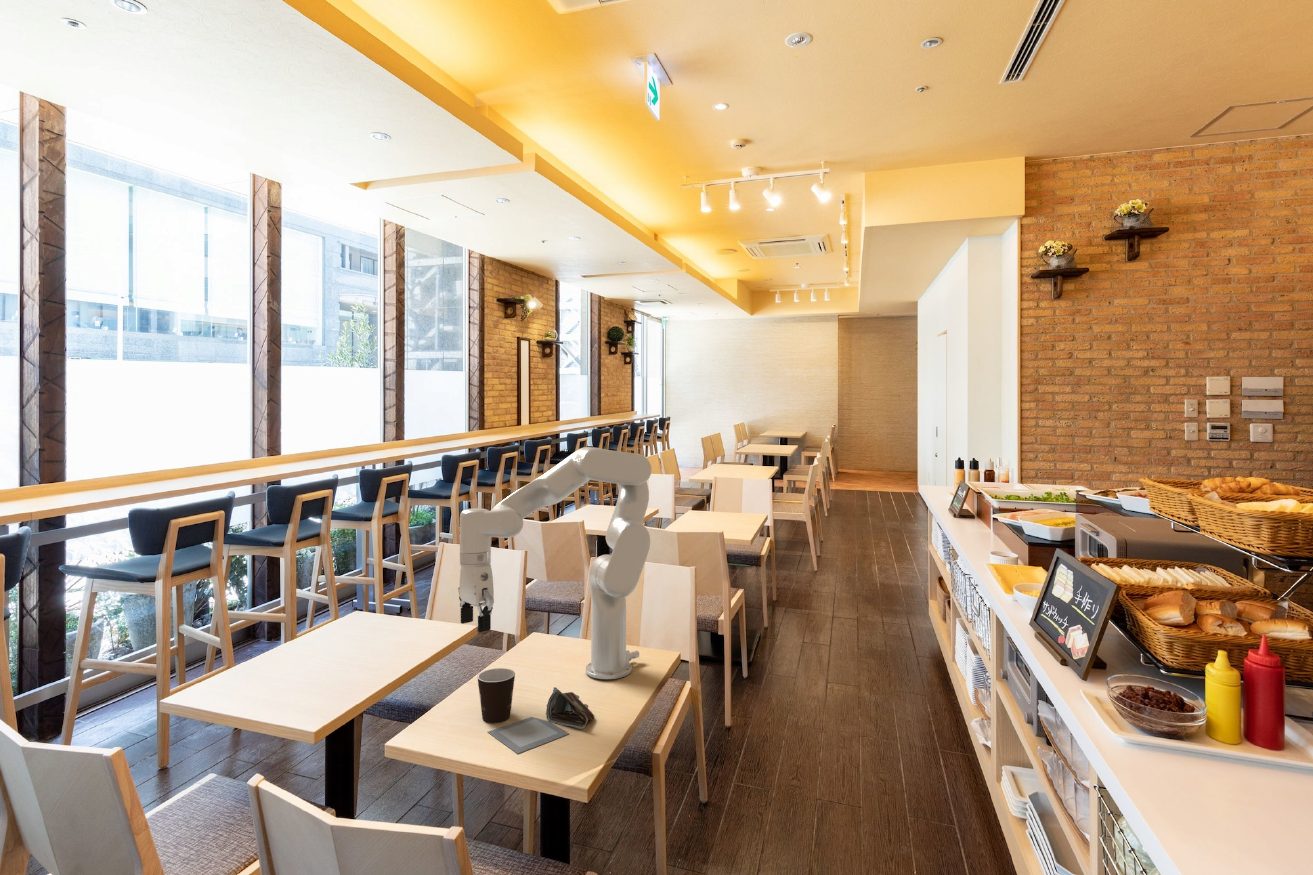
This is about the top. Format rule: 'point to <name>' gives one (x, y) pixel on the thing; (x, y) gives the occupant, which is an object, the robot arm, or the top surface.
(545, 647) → the top surface
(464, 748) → the top surface
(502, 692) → the coffee mug
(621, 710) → the top surface
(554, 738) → the mat
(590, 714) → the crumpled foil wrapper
